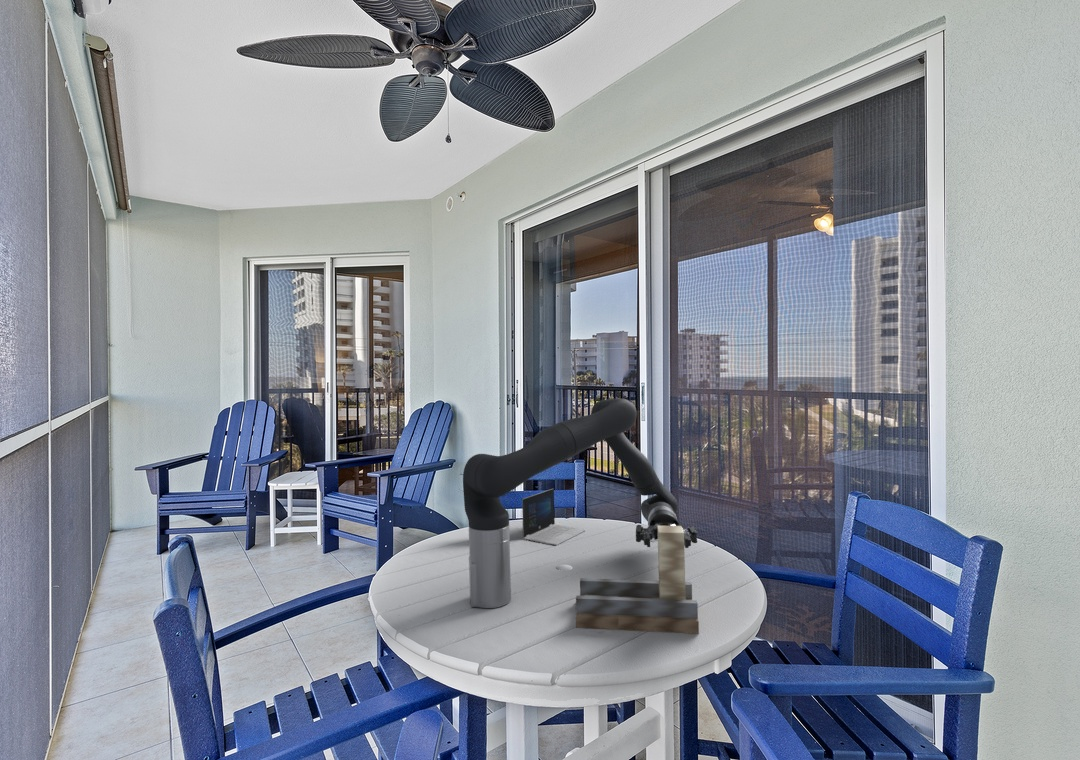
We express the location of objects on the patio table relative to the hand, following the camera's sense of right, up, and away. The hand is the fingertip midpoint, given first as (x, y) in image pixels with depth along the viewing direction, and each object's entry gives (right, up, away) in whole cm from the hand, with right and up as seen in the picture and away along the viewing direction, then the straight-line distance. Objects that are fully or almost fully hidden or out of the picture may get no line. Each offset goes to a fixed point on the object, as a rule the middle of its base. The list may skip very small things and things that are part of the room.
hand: (667, 543), depth 124 cm
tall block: (-2, -10, -11) cm, 15 cm away
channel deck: (-9, -12, -10) cm, 18 cm away
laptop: (-24, -13, +49) cm, 56 cm away
